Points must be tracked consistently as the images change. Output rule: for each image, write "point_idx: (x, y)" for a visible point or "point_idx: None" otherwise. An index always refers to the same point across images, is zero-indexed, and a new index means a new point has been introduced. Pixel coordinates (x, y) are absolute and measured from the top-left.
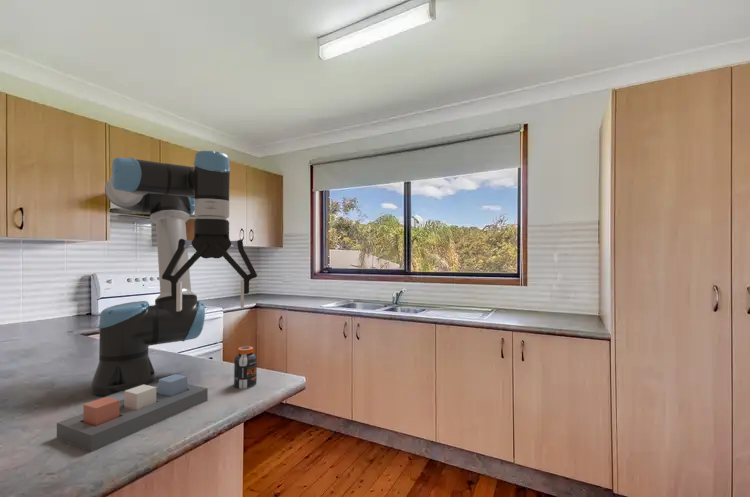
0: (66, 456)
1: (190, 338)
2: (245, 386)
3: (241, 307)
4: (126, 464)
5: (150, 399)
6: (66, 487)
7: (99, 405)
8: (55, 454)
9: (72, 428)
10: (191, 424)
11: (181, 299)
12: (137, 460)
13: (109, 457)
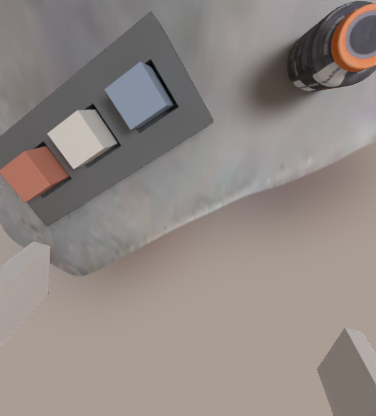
0: None
1: None
2: (307, 90)
3: (323, 375)
4: (103, 254)
5: (103, 151)
6: (58, 263)
7: (25, 191)
8: None
9: None
10: (176, 193)
11: (8, 300)
12: (113, 252)
13: (83, 227)
